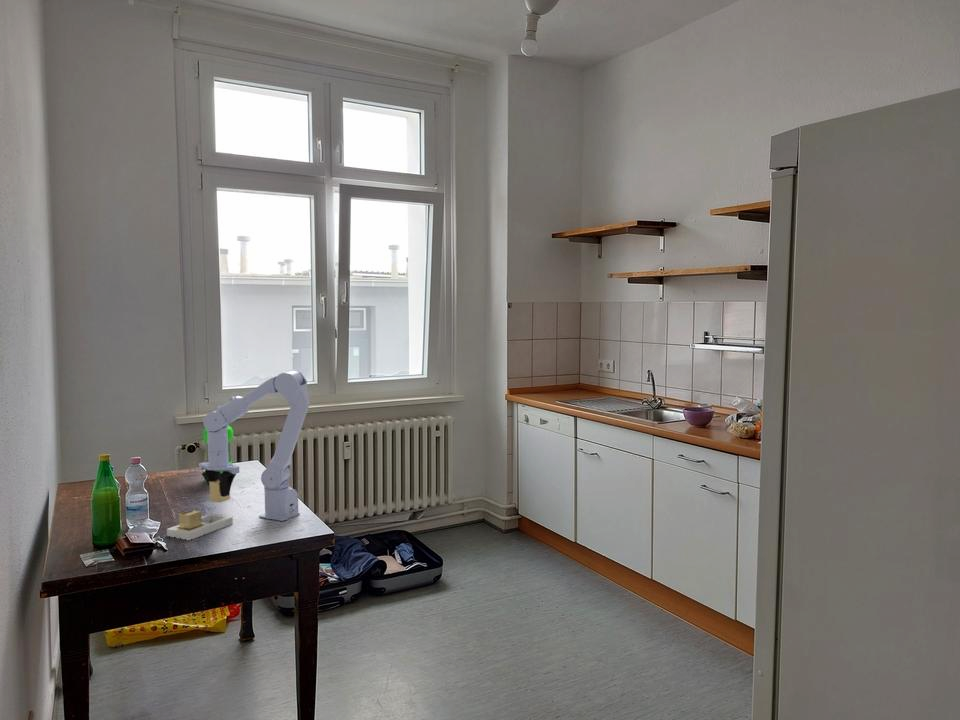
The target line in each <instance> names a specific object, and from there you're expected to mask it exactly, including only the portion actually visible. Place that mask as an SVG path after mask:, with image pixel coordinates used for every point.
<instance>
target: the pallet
mask: <svg viewBox="0 0 960 720" xmlns="http://www.w3.org/2000/svg"><path fill="white" fill-rule="evenodd" d="M233 522H234V519H233V516H229V515H223V514H218V513H212V512H211V513H208V514H205V515H201V527H198V528H196V529H193V530H190V531H188V530H183V529H179V524H177V525H173V526H171V527H169V528H166V536H167V537H169V536H170V538H174V537H176V538H175V539H180V538H181V540H185V539H186V540H185V541H191V539H192V540H194V539H197V538H199V537H202V536H204V534H205V535H207V534H209V533H212V532H214V531H217V530H220V529H222V528H225V527H228V526H230V525H232V524H234V523H233Z"/></svg>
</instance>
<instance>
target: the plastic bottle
mask: <svg viewBox="0 0 960 720" xmlns="http://www.w3.org/2000/svg"><path fill="white" fill-rule="evenodd" d="M214 411H215V410H214ZM214 411H212V412H214ZM227 434H228V455H229V464H232V465H234V464H233V462H232V460H231V459H232V458H231V457H232V456H231V441H232V440H233V438H234V430H233V428H232V427H231V426H230V424H229V425H228V427H227ZM202 440H203V442H204V443H205V444H206V459H207V460H206V461H207V462H208V442H207V429H206V428H205V427H204V429H203V431H202ZM205 471H206V470H204V472H205ZM221 473H223V472H220V474H221Z"/></svg>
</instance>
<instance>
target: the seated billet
mask: <svg viewBox="0 0 960 720" xmlns="http://www.w3.org/2000/svg"><path fill="white" fill-rule="evenodd" d="M201 517H202V511H200V510H194V509H188V510H185V511H182V512H180V513H178V523H179V524H178V525H179V529H183V530H188V531H190V530H193V529H196V528H198V527H201Z"/></svg>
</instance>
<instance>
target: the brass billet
mask: <svg viewBox="0 0 960 720" xmlns="http://www.w3.org/2000/svg"><path fill="white" fill-rule="evenodd" d="M209 487H210V490H209V501H210V502H215V503H219V504H220V503H224V502H226V501H229V500H231V491H230V492H229V495H228V496H225V497H222V493H221V485H220V481H219V479H215V480H212V481H210V482H209ZM209 487H208V488H209Z"/></svg>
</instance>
